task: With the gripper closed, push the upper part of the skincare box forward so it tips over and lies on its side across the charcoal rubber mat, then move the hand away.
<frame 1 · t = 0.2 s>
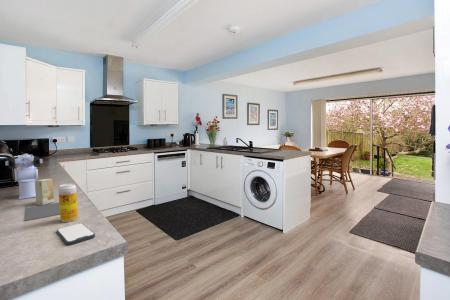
hand: (24, 163, 114), 21 cm above the counter, tool horizontal, fingers open, 7 cm apart
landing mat: (46, 210, 109), on the counter
beer can: (69, 220, 98), on the counter
phone case: (75, 236, 84), on the counter
skincare box: (45, 203, 119), on the counter, touching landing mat
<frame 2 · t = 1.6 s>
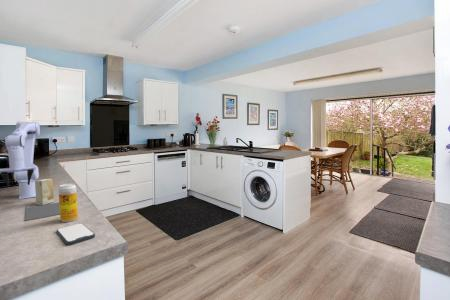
hand: (18, 185, 118), 9 cm above the counter, tool pointing down, fingers open, 7 cm apart
nothing on the counter moved.
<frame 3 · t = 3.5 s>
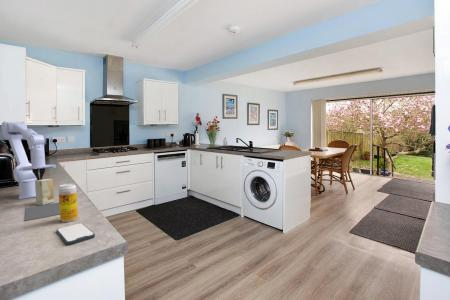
hand: (39, 182, 124), 9 cm above the counter, tool pointing down, fingers closed
nothing on the counter moved.
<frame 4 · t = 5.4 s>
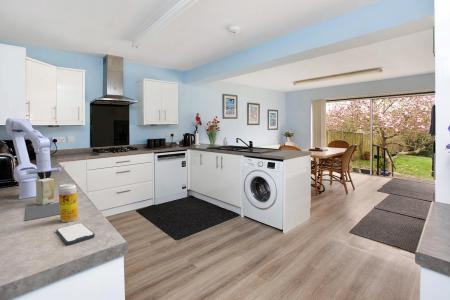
hand: (45, 186, 122), 8 cm above the counter, tool pointing down, fingers closed
skincare box: (45, 203, 119), on the counter, touching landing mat
everything else where it was.
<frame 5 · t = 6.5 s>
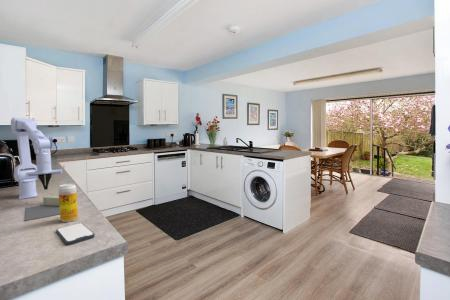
hand: (45, 189, 117), 8 cm above the counter, tool pointing down, fingers closed
skincare box: (48, 199, 118), point 2 cm above the counter, touching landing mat
everything else where it was.
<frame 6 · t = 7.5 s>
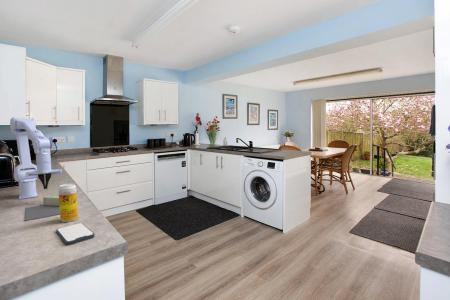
hand: (45, 188, 118), 8 cm above the counter, tool pointing down, fingers closed
nothing on the counter moved.
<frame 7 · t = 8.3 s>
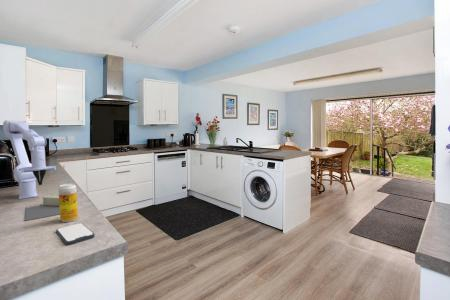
hand: (40, 184, 123), 9 cm above the counter, tool pointing down, fingers closed
nothing on the counter moved.
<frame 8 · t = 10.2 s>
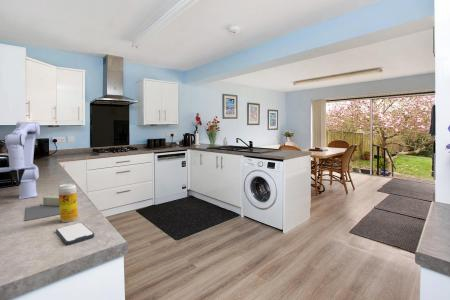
hand: (18, 184, 117), 10 cm above the counter, tool pointing down, fingers closed
nothing on the counter moved.
at the end: skincare box tilted 90°; skincare box inside the target area (1.4 cm from its centre), point 2.5 cm above the counter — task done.
